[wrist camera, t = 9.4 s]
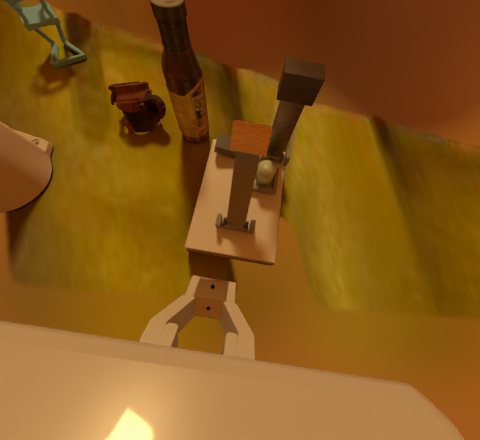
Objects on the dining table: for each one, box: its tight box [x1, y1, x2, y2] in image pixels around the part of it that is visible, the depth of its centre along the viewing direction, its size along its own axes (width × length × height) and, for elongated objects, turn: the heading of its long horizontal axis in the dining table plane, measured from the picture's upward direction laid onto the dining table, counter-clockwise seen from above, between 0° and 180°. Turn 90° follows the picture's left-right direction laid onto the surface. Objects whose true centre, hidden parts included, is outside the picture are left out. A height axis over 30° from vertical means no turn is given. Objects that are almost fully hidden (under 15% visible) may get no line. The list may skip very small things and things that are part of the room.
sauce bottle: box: [150, 0, 209, 143], centre depth 29 cm, size 7×6×20 cm
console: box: [185, 139, 291, 265], centre depth 31 cm, size 15×22×6 cm
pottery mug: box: [109, 82, 166, 132], centre depth 37 cm, size 12×10×8 cm
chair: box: [4, 0, 87, 68], centre depth 38 cm, size 8×8×12 cm
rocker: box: [214, 133, 236, 158], centre depth 32 cm, size 4×3×2 cm
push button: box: [255, 160, 277, 186], centre depth 29 cm, size 3×3×3 cm
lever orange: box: [222, 120, 272, 232], centre depth 24 cm, size 4×2×15 cm
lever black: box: [261, 58, 325, 163], centre depth 26 cm, size 4×2×15 cm, turn 81°
